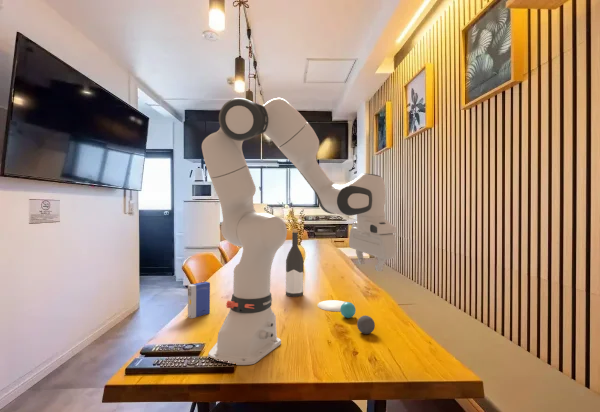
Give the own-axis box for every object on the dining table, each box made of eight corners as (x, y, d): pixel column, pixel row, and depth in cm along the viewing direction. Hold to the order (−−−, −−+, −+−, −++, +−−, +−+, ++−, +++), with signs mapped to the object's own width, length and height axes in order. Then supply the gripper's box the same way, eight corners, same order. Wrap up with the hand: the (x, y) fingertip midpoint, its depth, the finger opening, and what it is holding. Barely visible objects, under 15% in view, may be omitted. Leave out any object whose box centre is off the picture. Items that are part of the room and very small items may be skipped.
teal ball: (354, 320, 117) (354, 305, 117) (339, 319, 118) (339, 303, 118) (356, 315, 122) (356, 300, 122) (341, 314, 124) (341, 299, 124)
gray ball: (374, 337, 102) (374, 319, 102) (356, 335, 104) (356, 318, 104) (375, 331, 108) (375, 314, 108) (357, 329, 109) (358, 312, 109)
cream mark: (349, 313, 125) (349, 312, 125) (314, 309, 129) (314, 308, 129) (353, 302, 139) (353, 301, 139) (321, 299, 143) (321, 299, 143)
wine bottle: (303, 292, 154) (304, 228, 153) (302, 297, 146) (303, 230, 145) (286, 291, 154) (287, 228, 154) (284, 296, 146) (285, 229, 146)
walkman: (205, 311, 125) (205, 280, 125) (209, 313, 123) (210, 281, 123) (186, 316, 119) (187, 284, 119) (190, 318, 118) (191, 285, 117)
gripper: (344, 221, 113) (344, 260, 114) (382, 229, 94) (381, 276, 95) (360, 220, 115) (359, 259, 116) (400, 228, 97) (398, 274, 98)
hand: (369, 267), depth 106 cm, fingers open, 8 cm apart
